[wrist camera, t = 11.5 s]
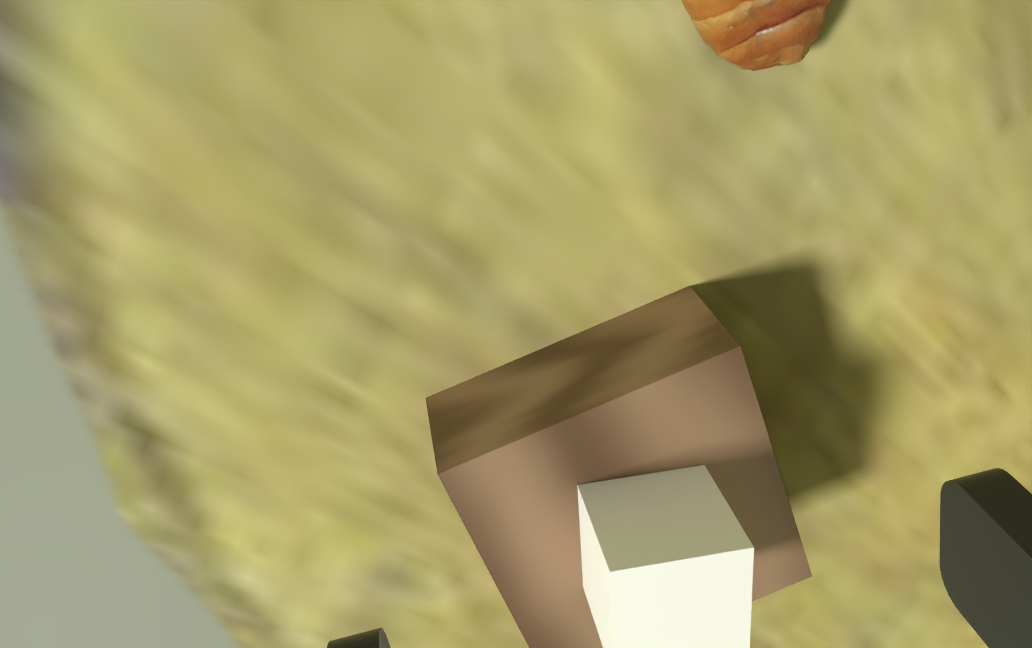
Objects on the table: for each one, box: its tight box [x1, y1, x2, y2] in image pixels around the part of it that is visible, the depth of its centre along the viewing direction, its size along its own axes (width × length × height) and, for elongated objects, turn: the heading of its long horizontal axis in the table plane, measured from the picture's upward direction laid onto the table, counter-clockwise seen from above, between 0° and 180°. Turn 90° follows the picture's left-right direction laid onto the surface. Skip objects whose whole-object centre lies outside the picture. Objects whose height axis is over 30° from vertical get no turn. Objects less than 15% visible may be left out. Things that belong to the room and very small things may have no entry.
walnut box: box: [426, 286, 812, 648], centre depth 40 cm, size 12×12×6 cm
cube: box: [577, 465, 754, 648], centre depth 35 cm, size 5×5×5 cm
